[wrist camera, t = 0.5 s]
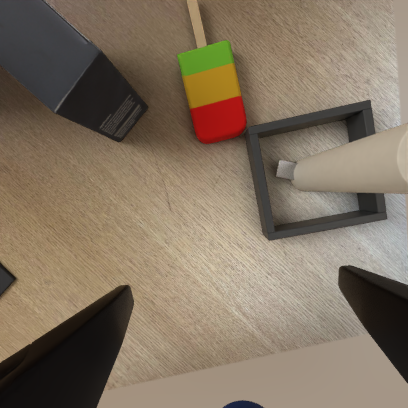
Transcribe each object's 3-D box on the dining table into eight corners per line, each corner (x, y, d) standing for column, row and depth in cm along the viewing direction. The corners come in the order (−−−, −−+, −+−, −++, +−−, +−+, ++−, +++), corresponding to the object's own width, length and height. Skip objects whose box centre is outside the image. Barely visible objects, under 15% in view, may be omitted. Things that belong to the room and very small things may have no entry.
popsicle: (199, 147, 22) (197, 143, 20) (166, 10, 21) (162, -7, 19) (247, 135, 22) (250, 130, 20) (216, -5, 21) (216, -24, 19)
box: (59, 91, 23) (-54, 20, 13) (88, 51, 22) (-8, -52, 13) (120, 145, 23) (51, 114, 13) (150, 107, 22) (102, 46, 13)
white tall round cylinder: (341, 164, 21) (536, 126, 8) (334, 196, 22) (509, 208, 9) (277, 153, 22) (370, 100, 9) (271, 185, 22) (350, 180, 9)
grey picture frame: (367, 215, 22) (387, 219, 19) (263, 235, 22) (268, 240, 20) (352, 109, 21) (370, 99, 18) (244, 133, 22) (247, 126, 19)
